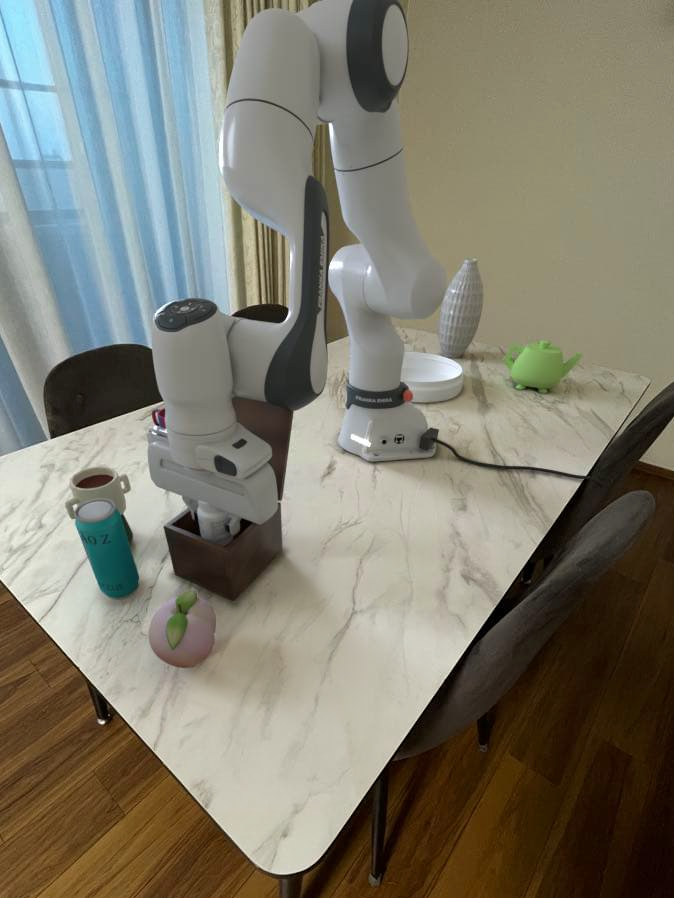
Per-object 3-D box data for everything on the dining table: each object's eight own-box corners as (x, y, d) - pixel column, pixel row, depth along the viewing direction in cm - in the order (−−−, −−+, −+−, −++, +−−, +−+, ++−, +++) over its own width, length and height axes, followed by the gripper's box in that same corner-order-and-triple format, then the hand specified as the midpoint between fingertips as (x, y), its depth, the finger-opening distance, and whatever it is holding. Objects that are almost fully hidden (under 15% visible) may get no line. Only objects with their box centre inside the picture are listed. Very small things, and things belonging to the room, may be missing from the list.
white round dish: (447, 368, 149) (450, 351, 146) (473, 402, 128) (478, 383, 125) (362, 368, 148) (364, 351, 145) (375, 403, 127) (377, 383, 124)
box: (233, 602, 70) (227, 552, 63) (174, 575, 74) (163, 525, 68) (282, 551, 79) (281, 502, 73) (227, 529, 83) (221, 482, 77)
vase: (434, 359, 155) (451, 262, 138) (432, 348, 165) (448, 255, 147) (473, 362, 154) (495, 264, 136) (469, 350, 164) (490, 257, 146)
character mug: (129, 520, 85) (110, 456, 77) (154, 535, 82) (137, 470, 74) (74, 550, 78) (47, 484, 70) (98, 568, 75) (73, 501, 67)
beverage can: (107, 577, 74) (78, 497, 64) (144, 575, 74) (121, 496, 64) (97, 604, 69) (65, 523, 60) (137, 602, 70) (111, 521, 60)
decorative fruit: (162, 631, 65) (147, 579, 59) (222, 627, 66) (213, 575, 60) (151, 689, 58) (133, 638, 52) (218, 684, 59) (208, 633, 52)
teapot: (569, 383, 140) (585, 339, 132) (569, 399, 131) (586, 353, 123) (499, 373, 146) (510, 330, 138) (494, 388, 136) (506, 343, 128)
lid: (291, 406, 66) (294, 405, 67) (225, 389, 70) (229, 389, 71) (279, 501, 72) (282, 499, 73) (219, 480, 76) (222, 479, 77)
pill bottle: (239, 535, 73) (234, 489, 67) (226, 554, 69) (219, 507, 64) (211, 529, 74) (204, 484, 68) (196, 548, 70) (188, 501, 65)
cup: (175, 449, 106) (170, 421, 102) (148, 436, 111) (141, 409, 106) (198, 438, 110) (193, 411, 106) (170, 427, 115) (165, 400, 111)
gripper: (127, 431, 63) (149, 515, 71) (254, 472, 55) (260, 560, 64) (161, 414, 67) (177, 495, 76) (282, 449, 59) (285, 535, 68)
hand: (216, 525), depth 70 cm, fingers closed on pill bottle, 5 cm apart
